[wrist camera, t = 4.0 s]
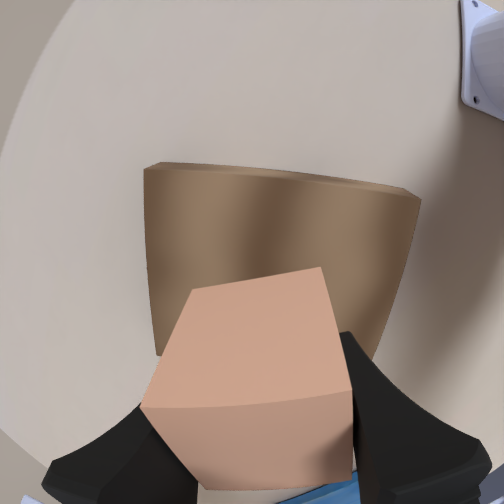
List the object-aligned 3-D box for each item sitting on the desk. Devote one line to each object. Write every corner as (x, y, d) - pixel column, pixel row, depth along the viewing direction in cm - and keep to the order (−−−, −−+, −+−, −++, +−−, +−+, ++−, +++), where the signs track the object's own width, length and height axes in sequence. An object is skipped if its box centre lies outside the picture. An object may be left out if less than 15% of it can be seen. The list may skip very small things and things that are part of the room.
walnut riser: (403, 188, 16) (421, 199, 14) (358, 351, 21) (365, 375, 19) (160, 162, 17) (143, 169, 14) (166, 333, 22) (156, 355, 19)
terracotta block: (320, 266, 11) (351, 389, 6) (333, 363, 13) (351, 479, 8) (192, 289, 12) (139, 406, 7) (226, 378, 14) (205, 489, 8)
